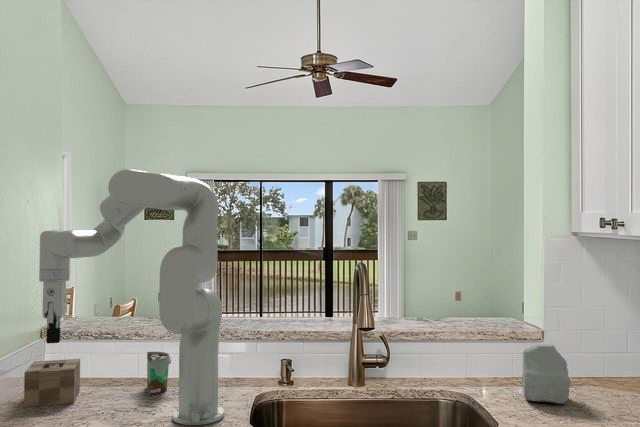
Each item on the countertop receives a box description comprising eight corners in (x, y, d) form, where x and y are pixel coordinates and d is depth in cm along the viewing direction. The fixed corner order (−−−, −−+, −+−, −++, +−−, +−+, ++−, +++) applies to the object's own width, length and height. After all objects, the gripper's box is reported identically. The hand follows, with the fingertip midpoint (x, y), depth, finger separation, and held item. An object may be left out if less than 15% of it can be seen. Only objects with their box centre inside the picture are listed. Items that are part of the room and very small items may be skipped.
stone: (566, 395, 157) (565, 341, 157) (571, 409, 145) (571, 351, 146) (521, 391, 161) (521, 338, 161) (523, 404, 149) (523, 347, 149)
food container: (173, 395, 156) (173, 359, 157) (150, 397, 154) (150, 361, 154) (168, 383, 168) (168, 349, 168) (146, 385, 166) (147, 351, 166)
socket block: (74, 403, 149) (74, 369, 149) (24, 407, 146) (24, 372, 146) (79, 390, 161) (80, 358, 161) (33, 393, 157) (34, 361, 157)
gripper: (65, 277, 148) (63, 347, 147) (73, 272, 162) (72, 336, 162) (33, 278, 146) (32, 349, 145) (44, 273, 160) (43, 337, 160)
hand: (53, 342), depth 154 cm, fingers closed
